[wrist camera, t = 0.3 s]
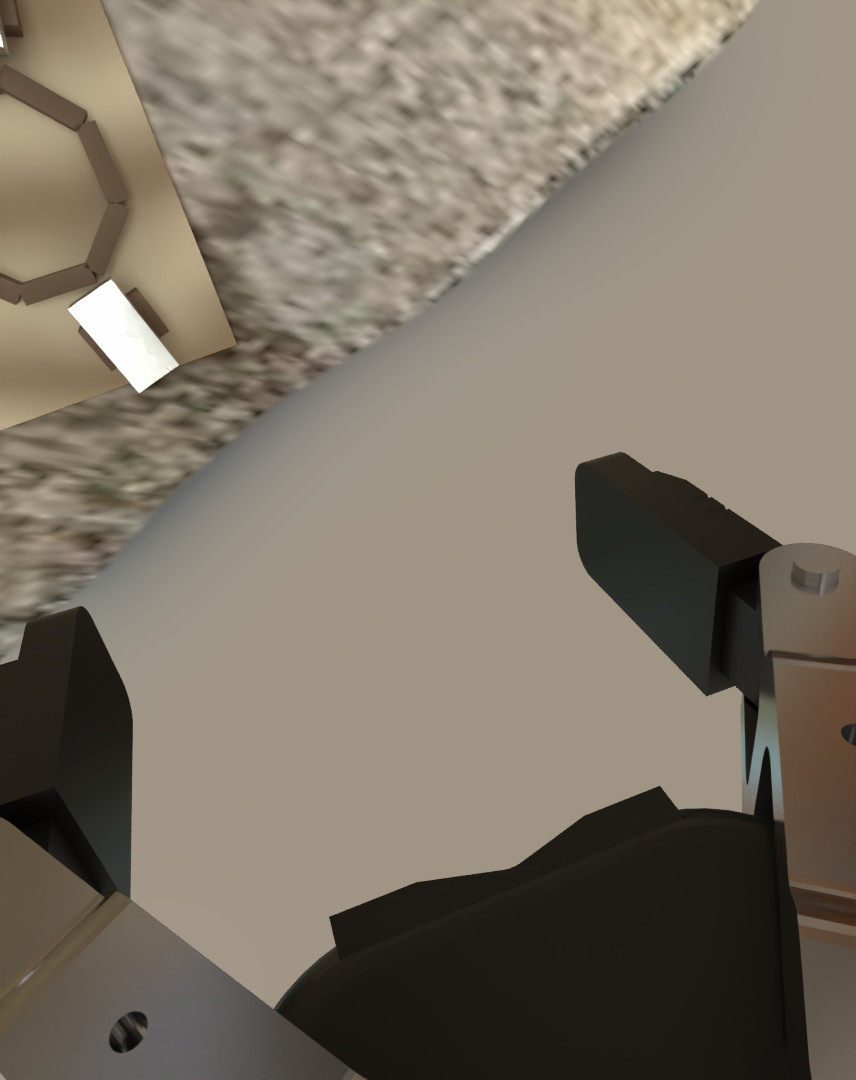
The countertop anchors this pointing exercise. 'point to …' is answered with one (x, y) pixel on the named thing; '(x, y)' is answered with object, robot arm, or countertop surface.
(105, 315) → the pair of grey blocks
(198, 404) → the countertop surface
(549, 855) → the robot arm
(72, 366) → the coupling base
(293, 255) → the countertop surface
